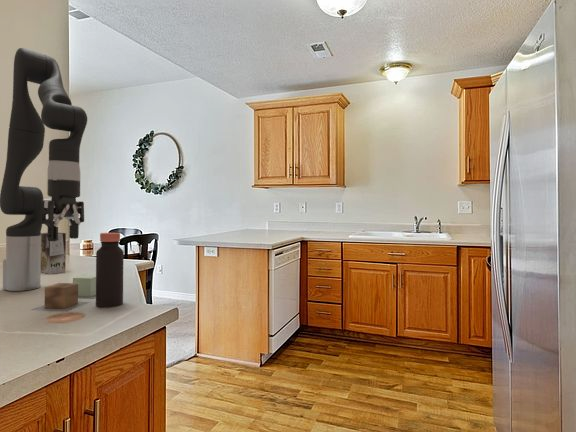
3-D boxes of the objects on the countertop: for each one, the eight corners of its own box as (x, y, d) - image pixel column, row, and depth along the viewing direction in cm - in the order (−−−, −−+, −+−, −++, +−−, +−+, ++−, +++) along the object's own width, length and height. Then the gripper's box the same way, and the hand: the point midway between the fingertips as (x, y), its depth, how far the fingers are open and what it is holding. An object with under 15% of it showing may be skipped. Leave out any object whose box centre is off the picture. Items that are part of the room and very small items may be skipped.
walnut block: (44, 308, 97) (44, 287, 97) (58, 302, 102) (58, 283, 102) (64, 308, 96) (64, 287, 96) (77, 303, 102) (78, 283, 102)
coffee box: (66, 272, 152) (66, 232, 152) (49, 274, 147) (49, 233, 146) (55, 269, 157) (55, 231, 157) (38, 271, 151) (38, 232, 151)
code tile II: (60, 299, 108) (60, 297, 108) (81, 291, 118) (81, 290, 118) (93, 300, 107) (93, 299, 107) (112, 292, 117) (112, 291, 117)
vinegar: (90, 306, 101) (91, 233, 101) (114, 301, 106) (115, 232, 106) (103, 310, 97) (104, 234, 97) (128, 305, 103) (128, 233, 102)
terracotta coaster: (37, 323, 85) (37, 321, 85) (60, 314, 93) (60, 311, 93) (70, 325, 85) (70, 322, 85) (91, 315, 93) (91, 312, 93)
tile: (29, 311, 95) (29, 310, 95) (56, 302, 105) (56, 300, 105) (67, 313, 94) (67, 311, 94) (90, 303, 104) (90, 301, 104)
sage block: (72, 296, 110) (72, 277, 110) (84, 292, 115) (84, 274, 115) (90, 297, 110) (90, 278, 109) (101, 292, 115) (101, 275, 115)
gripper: (67, 181, 106) (67, 237, 107) (30, 176, 92) (30, 241, 92) (93, 181, 106) (92, 238, 106) (60, 177, 92) (59, 242, 92)
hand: (63, 239), depth 99 cm, fingers open, 8 cm apart
